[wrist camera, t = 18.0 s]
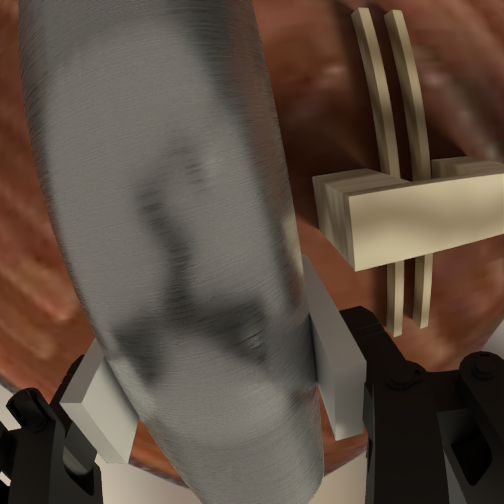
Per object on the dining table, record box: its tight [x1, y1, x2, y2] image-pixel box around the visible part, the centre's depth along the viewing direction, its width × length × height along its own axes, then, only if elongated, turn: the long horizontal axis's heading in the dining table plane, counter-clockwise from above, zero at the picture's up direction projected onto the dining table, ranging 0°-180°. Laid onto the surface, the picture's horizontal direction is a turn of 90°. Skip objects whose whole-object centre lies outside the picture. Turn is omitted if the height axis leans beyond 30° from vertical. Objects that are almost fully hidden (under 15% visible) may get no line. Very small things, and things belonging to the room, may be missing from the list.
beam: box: [312, 8, 504, 337], centre depth 24 cm, size 33×18×10 cm, turn 11°
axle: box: [18, 0, 324, 504], centre depth 9 cm, size 19×6×6 cm, turn 11°
